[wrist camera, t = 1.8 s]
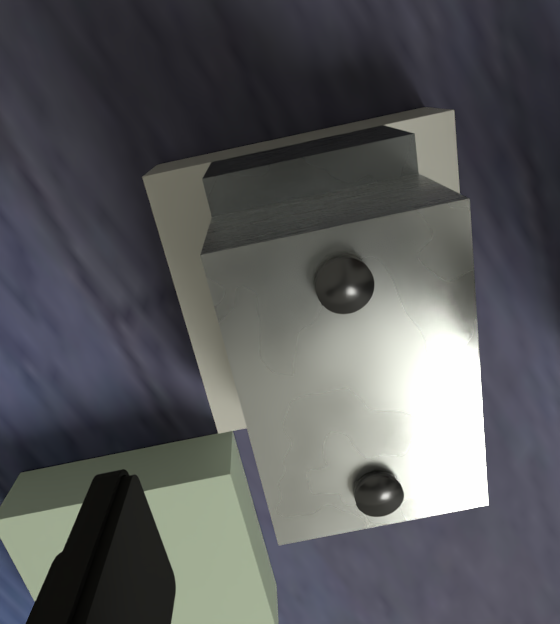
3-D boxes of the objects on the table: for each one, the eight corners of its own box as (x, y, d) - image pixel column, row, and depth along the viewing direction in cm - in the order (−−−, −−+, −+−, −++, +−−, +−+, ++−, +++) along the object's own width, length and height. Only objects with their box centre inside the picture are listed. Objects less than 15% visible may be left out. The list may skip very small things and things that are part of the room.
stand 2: (157, 164, 20) (142, 176, 17) (425, 107, 19) (454, 109, 17) (222, 393, 24) (218, 433, 21) (446, 348, 23) (473, 382, 20)
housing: (211, 162, 17) (185, 210, 10) (383, 125, 17) (472, 148, 10) (275, 422, 21) (286, 582, 14) (414, 394, 21) (495, 542, 14)
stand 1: (20, 472, 25) (-9, 521, 22) (232, 430, 24) (230, 474, 22) (92, 620, 28) (75, 677, 26) (276, 585, 28) (279, 639, 25)
